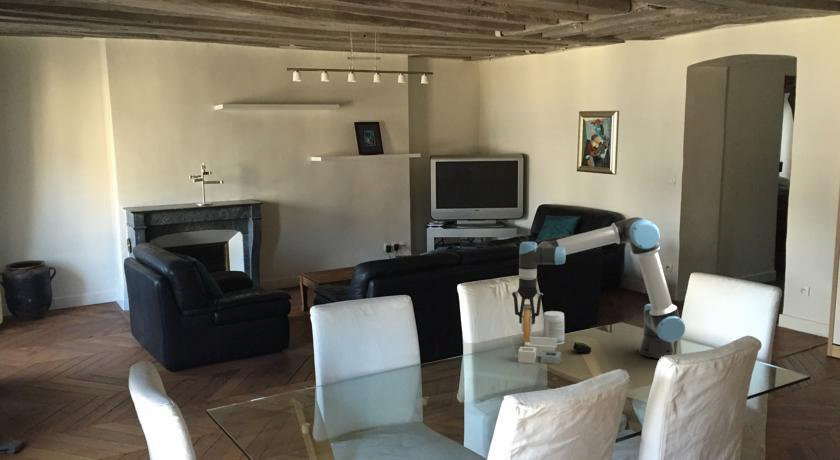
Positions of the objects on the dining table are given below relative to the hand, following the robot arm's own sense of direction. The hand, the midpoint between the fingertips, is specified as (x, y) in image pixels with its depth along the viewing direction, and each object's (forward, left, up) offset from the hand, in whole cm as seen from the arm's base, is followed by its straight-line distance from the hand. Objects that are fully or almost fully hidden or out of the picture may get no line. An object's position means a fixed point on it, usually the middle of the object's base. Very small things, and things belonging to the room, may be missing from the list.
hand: (526, 331), depth 312 cm
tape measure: (-22, -14, -13) cm, 29 cm away
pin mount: (-10, -2, -13) cm, 17 cm away
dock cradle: (-5, -14, -13) cm, 20 cm away
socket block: (0, 0, -13) cm, 13 cm away
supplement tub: (-9, -29, -13) cm, 33 cm away
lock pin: (0, 0, -5) cm, 5 cm away
